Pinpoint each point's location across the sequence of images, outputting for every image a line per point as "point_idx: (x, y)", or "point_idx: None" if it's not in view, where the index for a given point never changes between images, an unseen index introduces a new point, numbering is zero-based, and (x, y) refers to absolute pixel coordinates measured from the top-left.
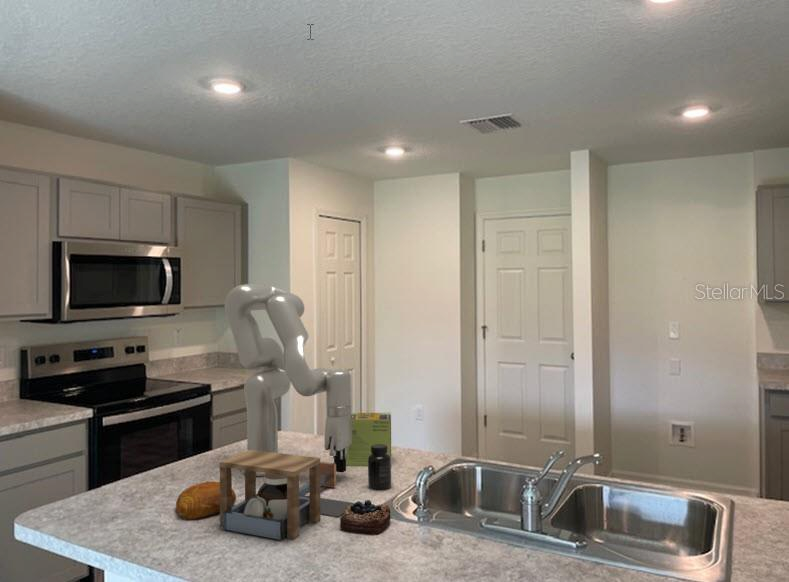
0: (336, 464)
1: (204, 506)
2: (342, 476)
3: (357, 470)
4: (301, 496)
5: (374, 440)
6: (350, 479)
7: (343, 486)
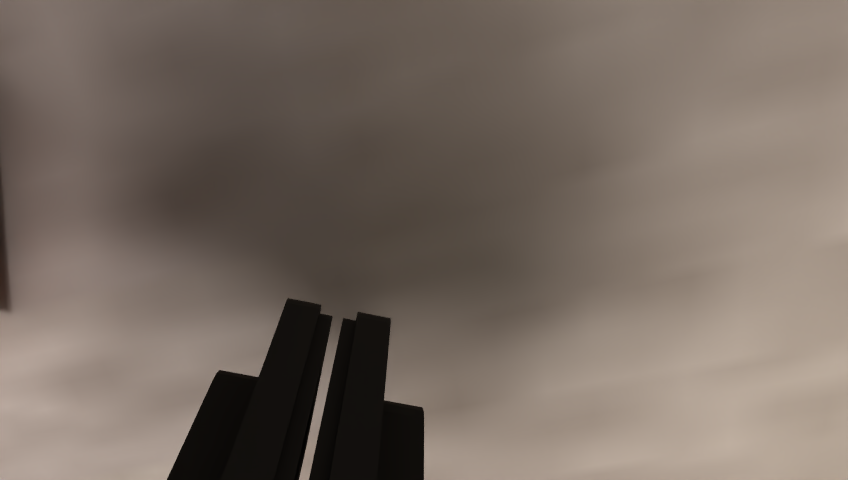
0: (181, 460)
1: None
2: (522, 284)
3: (812, 410)
4: None
5: None
6: None
7: (100, 386)
